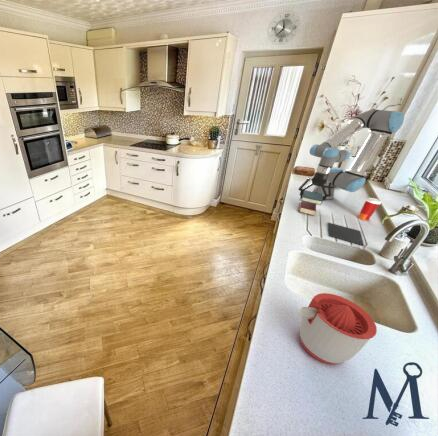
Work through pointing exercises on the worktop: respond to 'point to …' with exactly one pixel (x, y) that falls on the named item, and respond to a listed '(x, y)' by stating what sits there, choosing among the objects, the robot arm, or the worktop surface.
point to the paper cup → (369, 208)
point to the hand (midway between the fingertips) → (309, 202)
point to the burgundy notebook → (307, 208)
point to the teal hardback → (312, 197)
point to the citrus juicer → (334, 328)
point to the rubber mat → (345, 234)
